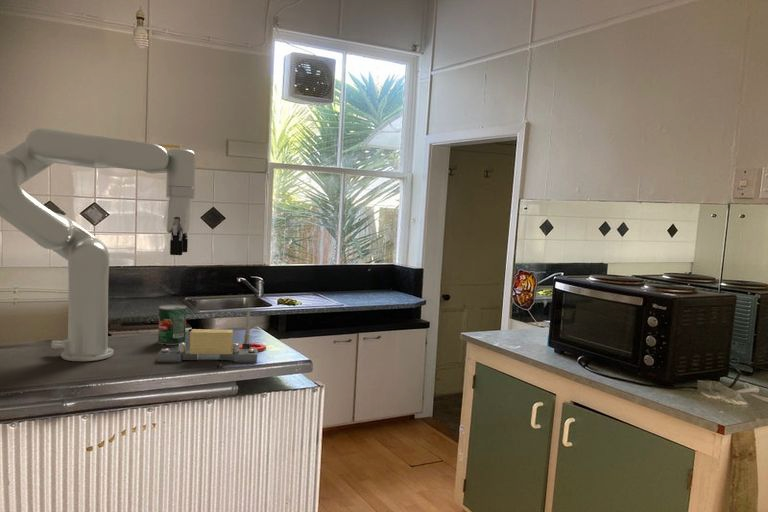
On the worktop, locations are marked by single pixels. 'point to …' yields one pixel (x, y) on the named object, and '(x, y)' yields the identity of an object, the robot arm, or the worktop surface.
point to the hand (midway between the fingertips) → (178, 253)
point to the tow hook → (247, 337)
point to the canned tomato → (172, 324)
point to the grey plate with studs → (182, 354)
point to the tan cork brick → (211, 341)
